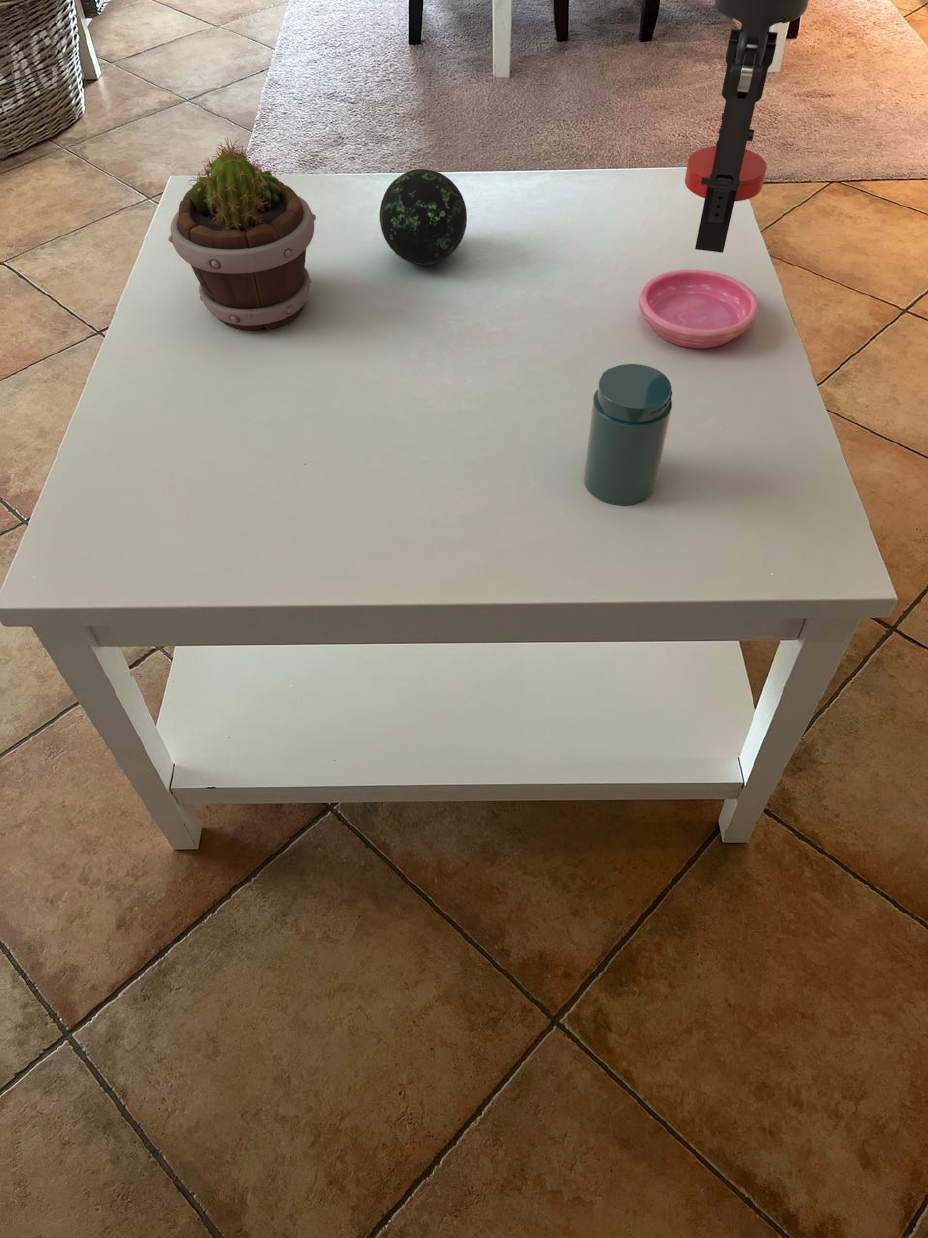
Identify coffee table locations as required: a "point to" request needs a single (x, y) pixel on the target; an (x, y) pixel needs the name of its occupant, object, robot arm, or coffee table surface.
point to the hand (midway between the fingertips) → (713, 228)
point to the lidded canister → (627, 433)
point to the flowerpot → (245, 242)
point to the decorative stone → (423, 216)
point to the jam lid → (749, 176)
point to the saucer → (697, 307)
